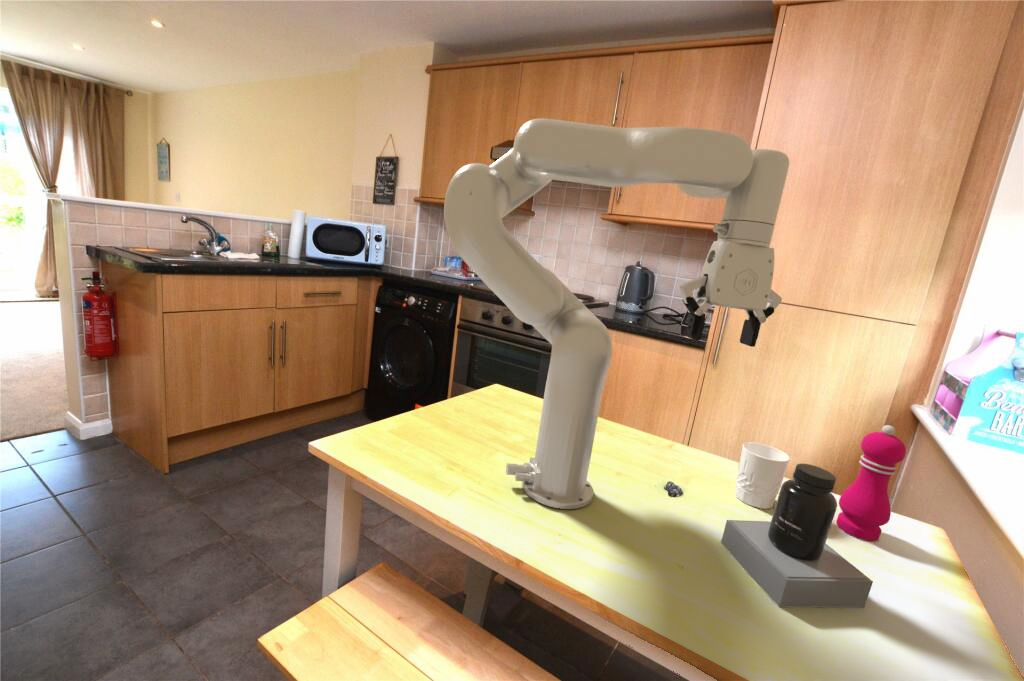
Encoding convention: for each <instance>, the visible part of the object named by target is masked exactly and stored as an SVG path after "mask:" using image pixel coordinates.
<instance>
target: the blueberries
mask: <svg viewBox="0 0 1024 681" xmlns="http://www.w3.org/2000/svg"><path fill="white" fill-rule="evenodd" d="M656 484H657V485H658V483H656ZM657 485H654V487H655V488H656V487H657ZM663 489H664V490H665V491H666V492H667V496H669V497H670V498H679V497H680V496H684V492H683V489H682V488H681V487H680V486H679V485H677V484H675V483H674V482H673V481H667V483H666V484H665V485H664V486H663Z"/></svg>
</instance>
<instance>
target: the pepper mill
mask: <svg viewBox="0 0 1024 681" xmlns="http://www.w3.org/2000/svg"><path fill="white" fill-rule="evenodd" d="M895 433H896V428H895V427H894V426H892V425H889V424H885V425H884V426H882V428H881V431H873V432H870V433H867V434H866V435H865V436H864V437H863V438H862V440H861V444H860V448H861V450H862V452H863V454H862V455H860V460H859V461H858V463H859V464H860V469H859V470H860V471H859V473H858V475H857V478H856V479H855V481H853V483H851V485H849V486H848V487H847V488H846V489H845V490H844V491H843V492H842V494H840V497H839V499H838V506H839V508H840V510H841V511H842V512H839V513H838V515H837V518H836V525H837V528H839V529H840V530H842V531H843V532H844V533H846V534H848V535H850V536H852V537H854V538H857V539H859V540H863V541H867V542H877V541H879V540H880V538H881V534H882V528H881V527H882V526H884V525H887V524H888V523H889V522H890V520H891V515H892V514H891V504H890V500H889V493H888V491H889V490H888V486H889V481H890V480H891V477H892V476H893V475H894V476H895V475H896V470H897V469H898V466H897V464H898V463H901V462H902V461H904V459H905V457H906V454H907V448H906V445H905V444H904V442H903V441H902V440H901V439H900V438H898V437H897V436H895Z"/></svg>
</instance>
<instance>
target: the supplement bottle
mask: <svg viewBox="0 0 1024 681" xmlns="http://www.w3.org/2000/svg"><path fill="white" fill-rule="evenodd" d="M836 480H837V478H836V476H835V474H833V473H832V472H830V471H829V470H826V469H824V468H822V467H820V466H817V465H813V464H808V463H798V464H796V466H795V468H794V471H793V473H792V479H787V480H786V481H784V482H782V484H781V487H780V489H779V493H778V495H777V501H776V504H775V507H774V510H773V514H772V518H771V521H770V522H771V524H770V527H769V531H768V537H769V539H770V541H771V542H772V544H773V545H774V546H776V547H777V548H778V549H779V550H781V551H783V552H784V553H786V554H788V555H790V556H792V557H795V558H798V559H801V560H807V561H813V560H817V559H819V558H820V557H821V555H822V552H823V549H824V546H825V543H826V542H827V539H828V536H829V533H830V530H831V528H832V524H833V521H834V519H835V514H836V511H837V509H838V508H837V507H838V502H837V499H836V498H835V496H834V494H832V492H833V491H834V489H835V484H836ZM826 544H827V543H826Z"/></svg>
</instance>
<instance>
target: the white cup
mask: <svg viewBox="0 0 1024 681" xmlns="http://www.w3.org/2000/svg"><path fill="white" fill-rule="evenodd" d="M790 460H791V457H790V456H789V455H788V454H787V453H786V452H784V451H782V450H780V449H779V448H776V447H774V446H771V445H769V444H764V443H759V442H753V441H752V442H751V441H750V442H749V441H748V442H743V444H742V448H741V453H740V457H739V462H738V463H739V464H738V468H737V474H736V483H735V484H736V485H735V488H734V495H735V497H736V498H737V499H738V500H739V501H741V502H743V503H745V504H747V505H749V506H750V507H754V508H757V509H762V510H763V509H764V510H768V509H772V508H773V507H774V504H775V502H776V498H777V497H778V495H779V493H780V489H781V486H782V484H783V481H784V478H785V475H786V471H787V469H788V467H789V466H788V465H789V463H790Z"/></svg>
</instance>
